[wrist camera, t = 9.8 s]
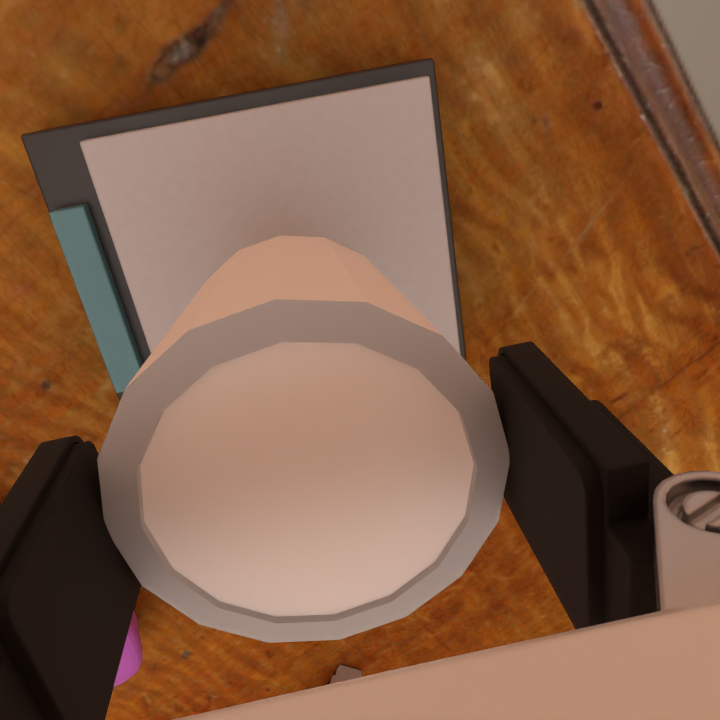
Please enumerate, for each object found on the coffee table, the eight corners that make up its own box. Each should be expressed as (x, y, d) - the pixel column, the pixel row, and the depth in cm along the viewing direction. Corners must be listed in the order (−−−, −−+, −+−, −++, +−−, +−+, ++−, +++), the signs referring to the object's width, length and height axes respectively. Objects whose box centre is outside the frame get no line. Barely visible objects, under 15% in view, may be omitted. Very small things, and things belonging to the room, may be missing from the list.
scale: (419, 59, 24) (439, 56, 21) (453, 350, 29) (473, 380, 26) (43, 130, 23) (9, 137, 20) (145, 413, 28) (130, 452, 25)
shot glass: (466, 374, 18) (572, 537, 12) (260, 489, 19) (252, 702, 12) (345, 154, 15) (394, 208, 9) (108, 299, 16) (-6, 448, 9)
